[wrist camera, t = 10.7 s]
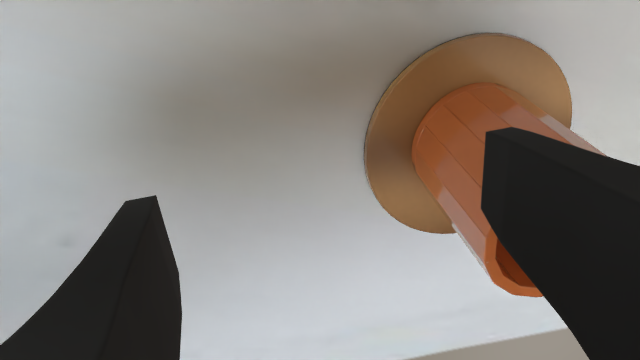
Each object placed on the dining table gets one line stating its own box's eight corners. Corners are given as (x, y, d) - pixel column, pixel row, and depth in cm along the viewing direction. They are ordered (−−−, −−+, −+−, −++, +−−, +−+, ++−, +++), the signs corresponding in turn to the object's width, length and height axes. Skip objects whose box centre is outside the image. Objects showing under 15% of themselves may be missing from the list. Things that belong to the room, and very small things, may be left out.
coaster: (553, 206, 26) (558, 211, 26) (369, 247, 25) (372, 252, 25) (581, 15, 22) (587, 17, 21) (356, 54, 20) (359, 57, 20)
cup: (523, 183, 25) (622, 277, 19) (411, 206, 24) (480, 311, 19) (536, 71, 22) (654, 144, 16) (409, 94, 21) (489, 178, 16)
